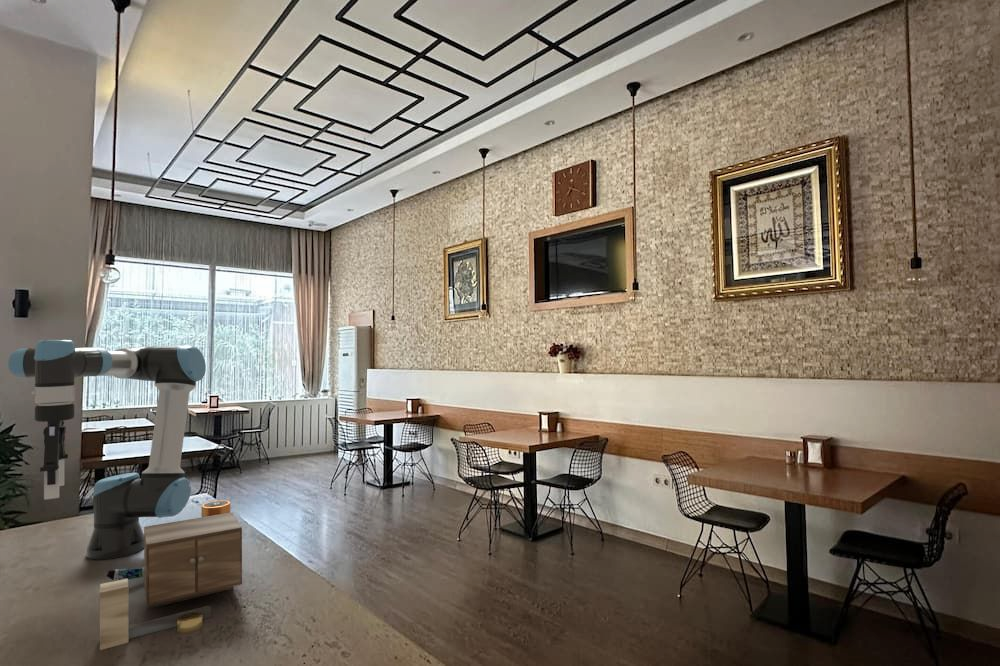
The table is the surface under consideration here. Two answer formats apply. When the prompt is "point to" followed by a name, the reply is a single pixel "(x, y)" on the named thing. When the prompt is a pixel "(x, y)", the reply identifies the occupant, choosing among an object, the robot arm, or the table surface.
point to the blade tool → (116, 616)
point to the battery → (215, 508)
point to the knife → (125, 573)
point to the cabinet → (191, 558)
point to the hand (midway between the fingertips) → (54, 492)
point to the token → (189, 623)
